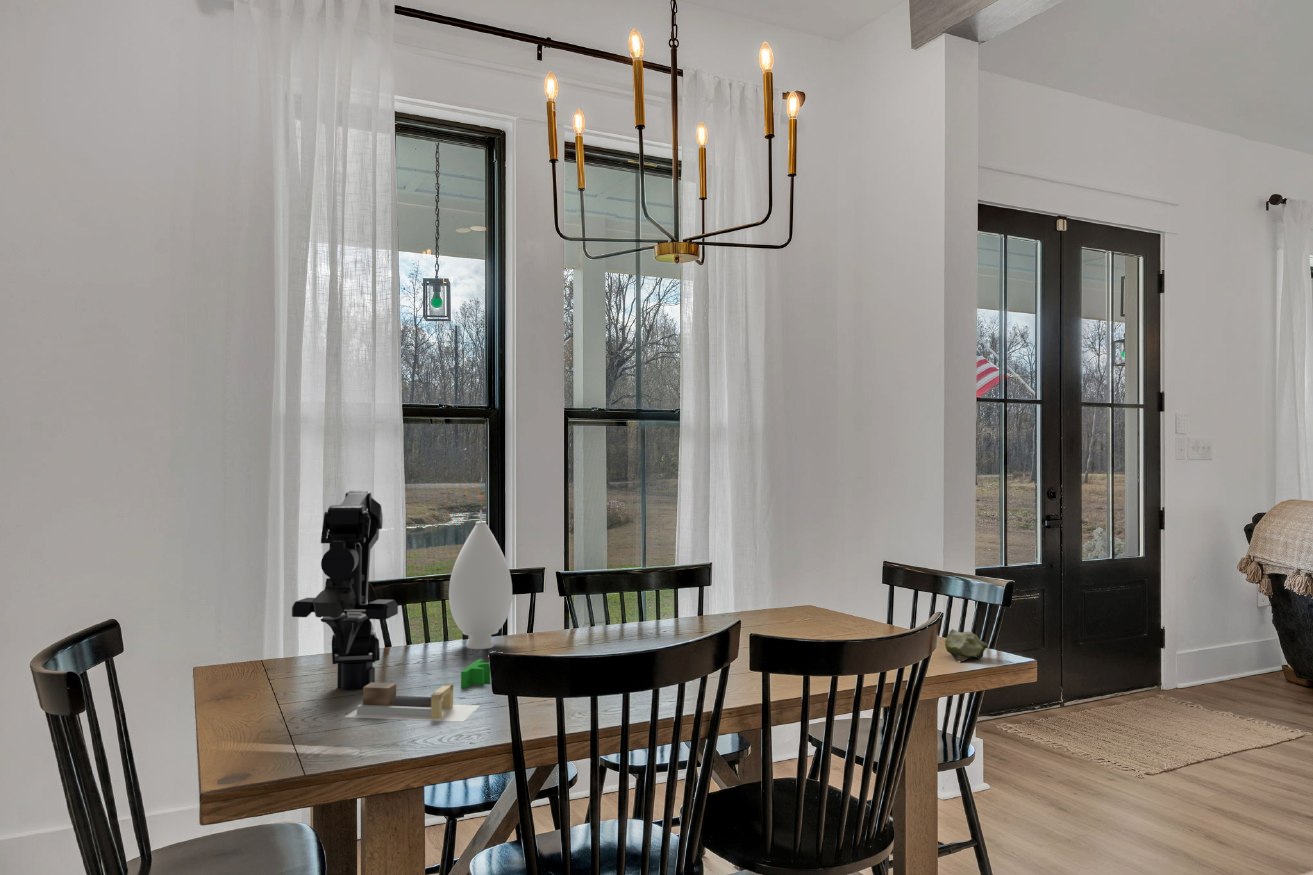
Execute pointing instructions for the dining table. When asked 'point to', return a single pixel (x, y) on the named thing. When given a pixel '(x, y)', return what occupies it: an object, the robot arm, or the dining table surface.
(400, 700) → the rod
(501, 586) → the lamp
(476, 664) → the pipe clamp
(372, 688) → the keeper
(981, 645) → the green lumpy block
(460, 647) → the dining table surface
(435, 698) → the channel board
